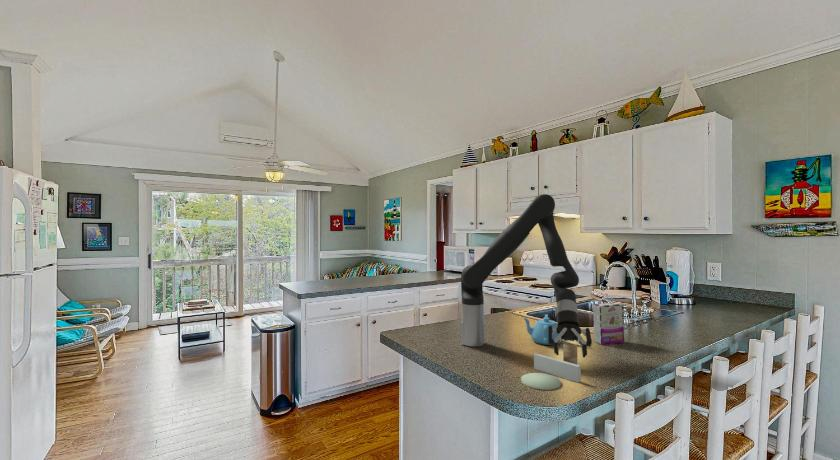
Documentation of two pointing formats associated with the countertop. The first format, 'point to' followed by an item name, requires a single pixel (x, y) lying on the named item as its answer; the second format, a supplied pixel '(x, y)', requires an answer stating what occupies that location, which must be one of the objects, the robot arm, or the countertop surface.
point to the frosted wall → (557, 367)
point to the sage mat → (541, 381)
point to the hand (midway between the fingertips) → (570, 355)
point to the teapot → (541, 330)
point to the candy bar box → (608, 323)
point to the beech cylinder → (570, 353)
